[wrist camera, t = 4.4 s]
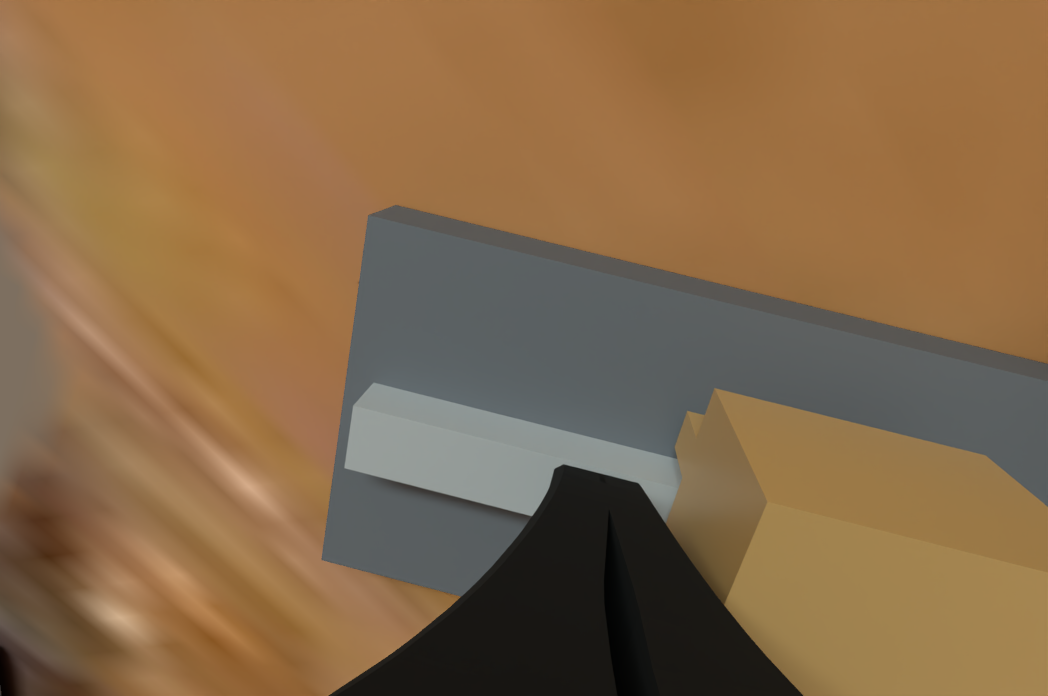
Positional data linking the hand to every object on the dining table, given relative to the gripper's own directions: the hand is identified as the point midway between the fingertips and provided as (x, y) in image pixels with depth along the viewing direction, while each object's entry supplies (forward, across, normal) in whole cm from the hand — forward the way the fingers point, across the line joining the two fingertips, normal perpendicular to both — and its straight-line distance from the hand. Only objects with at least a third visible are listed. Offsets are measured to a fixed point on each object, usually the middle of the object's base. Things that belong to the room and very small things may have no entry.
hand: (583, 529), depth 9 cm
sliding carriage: (+2, -3, 0) cm, 4 cm away
